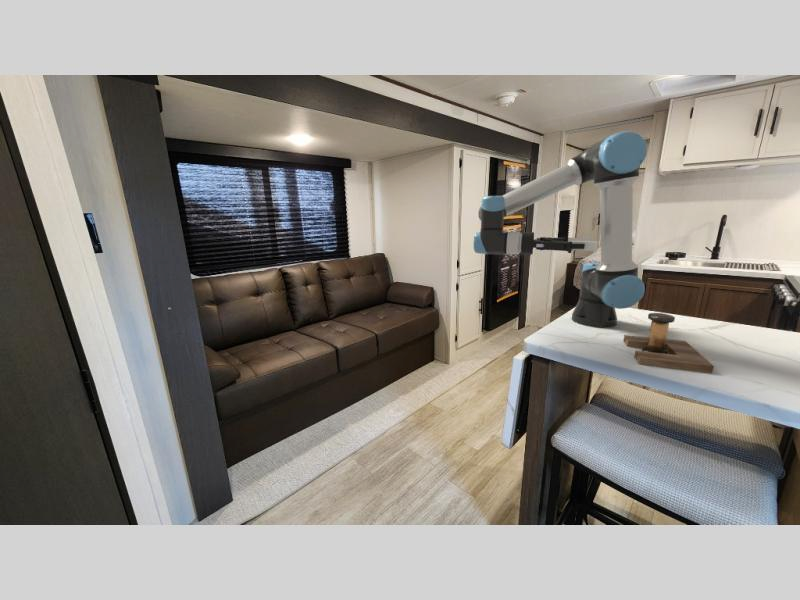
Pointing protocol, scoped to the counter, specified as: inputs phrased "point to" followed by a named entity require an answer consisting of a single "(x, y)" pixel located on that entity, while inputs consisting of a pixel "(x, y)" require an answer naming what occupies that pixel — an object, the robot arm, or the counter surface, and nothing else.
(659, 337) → the bobbin
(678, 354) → the notched board
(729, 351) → the counter surface
